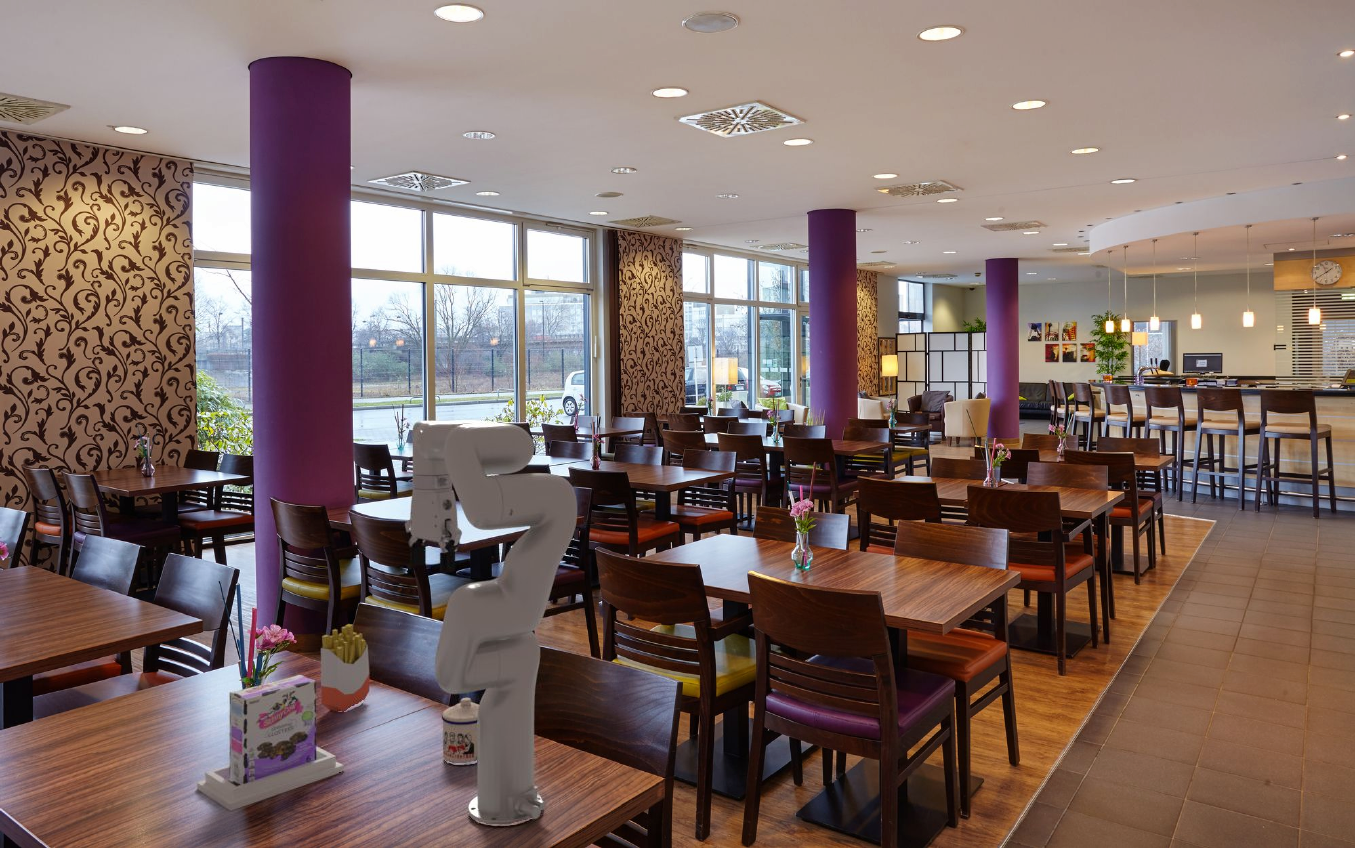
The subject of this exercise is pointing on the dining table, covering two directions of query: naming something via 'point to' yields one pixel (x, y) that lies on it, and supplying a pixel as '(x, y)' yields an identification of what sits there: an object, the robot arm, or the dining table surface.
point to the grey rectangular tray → (266, 781)
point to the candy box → (272, 728)
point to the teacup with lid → (460, 732)
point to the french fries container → (344, 669)
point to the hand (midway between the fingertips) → (432, 568)
